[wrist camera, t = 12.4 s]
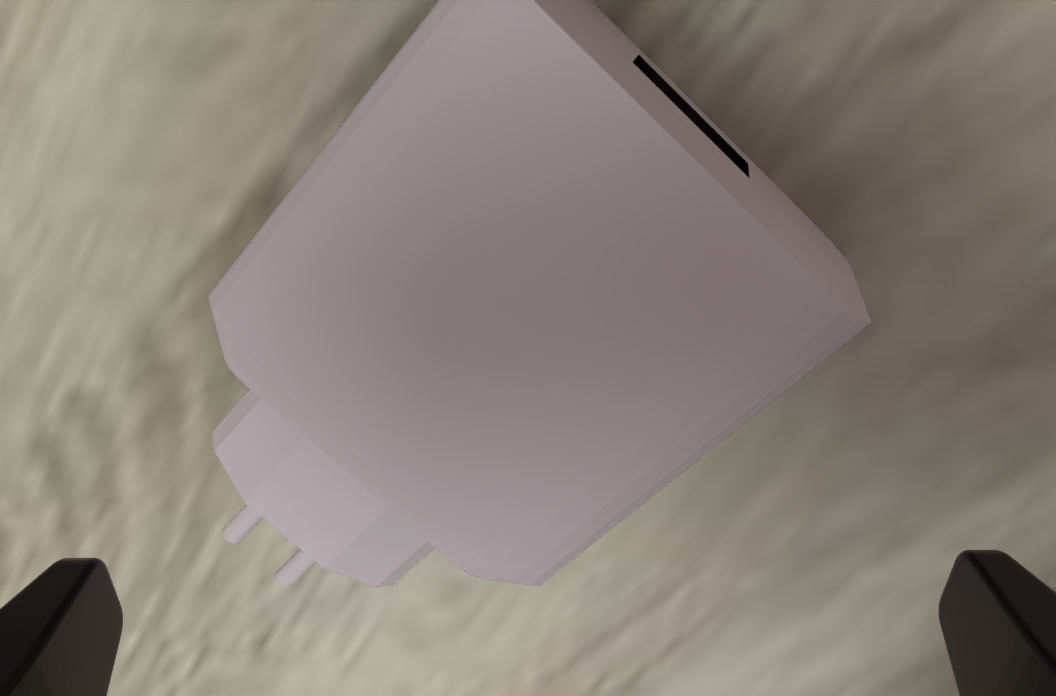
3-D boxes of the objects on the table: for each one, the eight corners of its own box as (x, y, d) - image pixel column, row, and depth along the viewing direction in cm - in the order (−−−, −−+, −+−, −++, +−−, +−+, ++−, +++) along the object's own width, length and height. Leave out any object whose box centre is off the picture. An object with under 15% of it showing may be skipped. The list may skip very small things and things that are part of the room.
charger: (163, 394, 25) (533, -64, 19) (422, 612, 26) (848, 251, 20) (47, 488, 21) (475, -63, 14) (362, 743, 22) (881, 337, 16)
